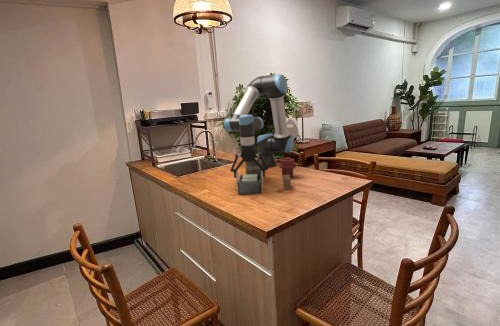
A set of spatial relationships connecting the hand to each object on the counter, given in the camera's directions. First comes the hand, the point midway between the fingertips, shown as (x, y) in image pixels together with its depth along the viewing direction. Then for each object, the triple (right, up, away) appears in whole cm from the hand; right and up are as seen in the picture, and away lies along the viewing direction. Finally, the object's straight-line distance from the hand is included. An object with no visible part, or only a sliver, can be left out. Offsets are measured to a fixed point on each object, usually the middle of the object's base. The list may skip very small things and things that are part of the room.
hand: (250, 183), depth 148 cm
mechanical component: (+23, +2, +20) cm, 31 cm away
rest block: (+20, -2, 0) cm, 20 cm away
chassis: (0, -4, +1) cm, 4 cm away
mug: (+3, +1, +20) cm, 20 cm away
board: (0, +1, 0) cm, 1 cm away
